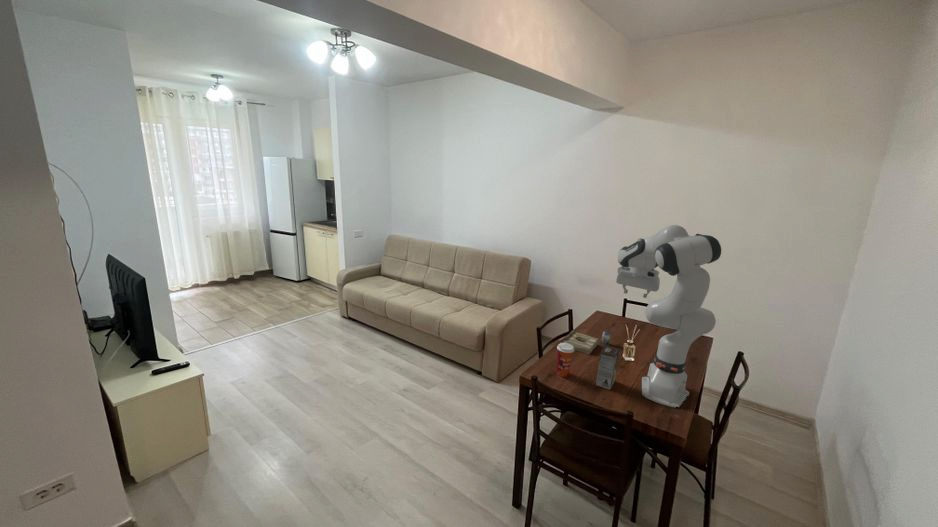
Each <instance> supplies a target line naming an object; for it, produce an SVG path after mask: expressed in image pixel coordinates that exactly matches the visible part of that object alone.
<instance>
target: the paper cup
mask: <svg viewBox="0 0 938 527" xmlns="http://www.w3.org/2000/svg"><path fill="white" fill-rule="evenodd" d="M556 348H557V351H556V352H557V353H556V369H555V371H556V375H557V376H559V377H562V378H567V377H568V376H569V375H570V370H571V366H572V361H573V356H574V352H575V350H574V347H573V346H572V345H571V344H568V343H564V342H560V343H559V344H558V345H557V346H556Z"/></svg>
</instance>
